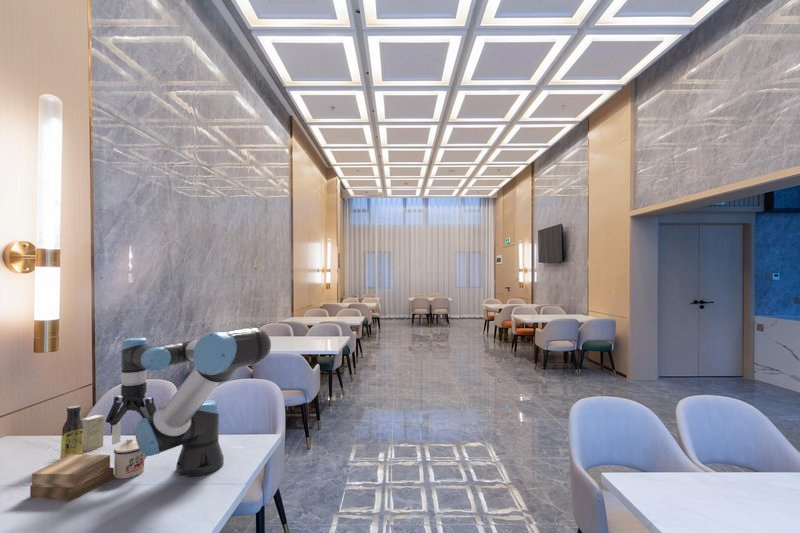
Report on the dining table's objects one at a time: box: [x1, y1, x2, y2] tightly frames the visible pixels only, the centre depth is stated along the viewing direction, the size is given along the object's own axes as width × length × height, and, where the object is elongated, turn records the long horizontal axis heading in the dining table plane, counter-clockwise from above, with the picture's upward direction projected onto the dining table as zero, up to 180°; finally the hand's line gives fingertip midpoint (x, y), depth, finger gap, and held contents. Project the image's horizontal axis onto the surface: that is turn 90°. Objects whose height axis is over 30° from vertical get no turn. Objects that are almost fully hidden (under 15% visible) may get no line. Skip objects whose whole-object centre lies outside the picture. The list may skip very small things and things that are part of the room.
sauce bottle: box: [59, 405, 83, 460], centre depth 155 cm, size 7×6×20 cm
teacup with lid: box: [113, 437, 148, 480], centre depth 146 cm, size 12×9×12 cm
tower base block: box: [29, 466, 115, 502], centre depth 135 cm, size 15×15×4 cm
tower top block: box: [31, 454, 111, 487], centre depth 135 cm, size 14×14×4 cm
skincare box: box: [80, 414, 105, 452], centre depth 167 cm, size 6×4×12 cm
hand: (132, 444), depth 146 cm, fingers open, 13 cm apart
